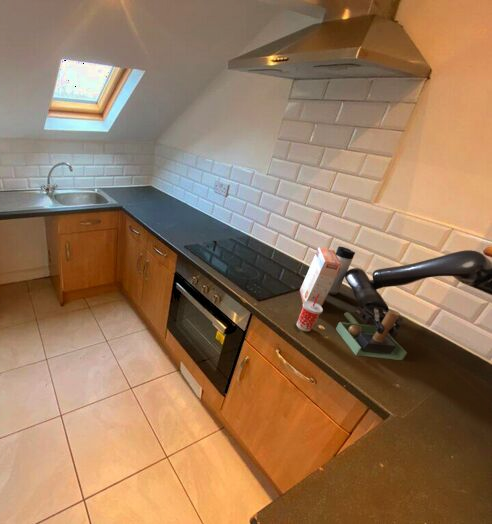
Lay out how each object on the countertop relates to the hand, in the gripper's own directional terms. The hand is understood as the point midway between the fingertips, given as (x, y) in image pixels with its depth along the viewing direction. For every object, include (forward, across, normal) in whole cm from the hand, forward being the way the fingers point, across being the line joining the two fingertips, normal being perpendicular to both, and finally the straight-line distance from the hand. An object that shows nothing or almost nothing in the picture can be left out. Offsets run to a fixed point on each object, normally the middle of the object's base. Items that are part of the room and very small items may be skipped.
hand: (388, 333), depth 91 cm
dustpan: (-9, -2, +9) cm, 13 cm away
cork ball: (-7, -5, +7) cm, 11 cm away
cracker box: (-24, -16, +9) cm, 30 cm away
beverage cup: (-5, -21, +9) cm, 23 cm away
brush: (-3, 0, +8) cm, 9 cm away
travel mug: (-37, -7, +9) cm, 39 cm away
